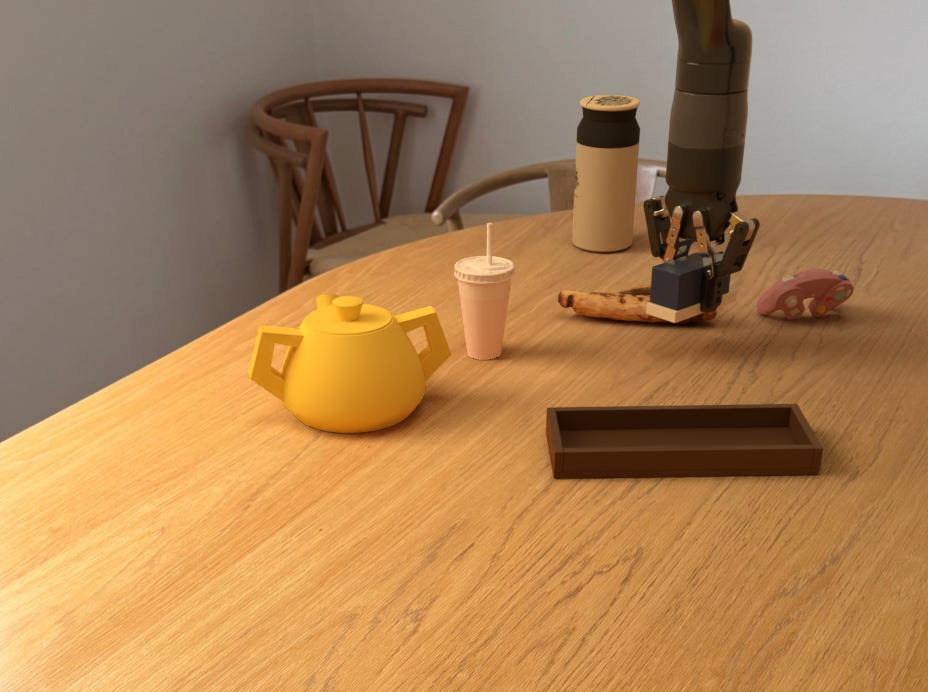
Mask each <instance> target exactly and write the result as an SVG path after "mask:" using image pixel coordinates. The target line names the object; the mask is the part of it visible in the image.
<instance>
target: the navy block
mask: <svg viewBox="0 0 928 692" xmlns="http://www.w3.org/2000/svg"><path fill="white" fill-rule="evenodd" d="M714 259H715V255H714ZM715 265H716V263H715ZM731 276H732V274H730V275H727V276H725V278H724V285H723V292H722V293H723V294H722V302H721V304H720V306H718V308H720V307H723V306H726V305H728V304H729V305H730V304H732V303H734V302H736V301H737V296H738V290H737V289H735V288H731V287H730V285H731ZM704 277H705V275H704V269H703V260H702V257H701V256H700V255H699V253H698V251H696V252H694V253H691V254H690V253H689V254H688V255H687V256H684V257H681V258H678V259H675V260H672V261H668V262H665V263H664V262H662V263H659V264H657V265H653V266H651V278H650V279H651V280H650V285H651V292H650V302H648V303H647V311H646V314H649V315H652V316H655V317H658V318H661V319H664V320H667V321H670V322H669V323H672V322H673V324H678V323H677V322H679V321H682V320H685V319H688V318H690V317H693V316H696V315H699V314H701V313H704V312H701V311H700V301H701V290H702V279H703V278H704Z"/></svg>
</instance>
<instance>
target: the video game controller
mask: <svg viewBox="0 0 928 692" xmlns="http://www.w3.org/2000/svg"><path fill="white" fill-rule="evenodd" d="M854 291H855V287H854V285H853V283H852V281H851V280H850V278H849V277H848V276H847V275H845V274H843V272H842V270H841V269H835V270H834V271H829V270H827V269H822V268H808V269H805V270H803V271H800V272H798V273H795V274H792V273H789V274H785V275H784V276H783V277H782V278H780V279H779V278H778V280H776V281H775V282H774V283H773V284H772V285H771V286H770V287H769V288H768V289H767V290H765V291H763V292H762V293H761V294H760V295H759V297H758V299H757V302H756V310H757V312H758V313H759V315H762V316H769V315H771V314H772V313H775V312H777V311H782V312H783V314H784V316H785V318H786V319H787V320H790V321H792V320H795V319H797V318H799V317H801V316H802V315H803V314H804V313H805V311H806V307H805V305H804V300H808V299H811V300H810V301H809V303H808V305H807V308H808V310H809V313H810V314H811V316H812V317H814V318H820V317H822V316H824V315H826V314H827V313H828V312H829V311H831V309H834V308H837V307H839V306H840V305H842V304H844V303H845V302H846V301H848V300H849V299H850V298H851V297H852V295H853V294H854Z"/></svg>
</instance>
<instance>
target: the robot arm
mask: <svg viewBox="0 0 928 692" xmlns="http://www.w3.org/2000/svg"><path fill="white" fill-rule="evenodd" d="M671 5H672V12H673V19H674V25H675V30H676V35H677V40H678V41H677V42H678V47H677V57H676V58H677V59H676V67H675V82H674V92H673V98H672V103H671V108H670V115H669V128H668V129H669V130H668V139H667V140H668V142H667V152H666V153H667V155H666V168H665V183H666V185H667V186H668V189H667V191H666V193H665V195H658V196H654V197H651V198H647V199H645V200H644V201H643V204H642V205H643V211H644V217H645V223H646V229H647V236H648V241H649V249H650V252H651V255H652V257H654V258H660V259H661V260H662V263H665V262H668V261H672V260H675V259H678V258H681V257H684V256H687V255H689V254H690V250H691V247H692V245H693V244H694V243H696V245H697V252H698V253H699V255H700V256H701V257H702V260H703V269H704V275H705V277H704V278H703V279H702V290H701V301H700V311H701V312H704V313H709V312H712V311H715V310H716V311H717V309H718V308H719V307H718V306H720V304H721V302H722V294H723V293H722V292H723V285H724V278H725V276H727V275H730V274H731V275H733V274H736V273H739V272H741V271H742V270H743V268H744V266H745V263H746V260H747V259H748V255H749V253H750V251H751V248H752V246H753V243H754V241H755V239H756V236H757V233H758V231H759V229H760V226H761V223H760V220H759V219H758V218H757V217H753V218H747V217H746V216H745V215H743V214H742V213H740V212H739V205H738V202H737V196H736V195H737V191H738V189H739V187H740V185H741V182H742V174H743V164H744V157H745V156H744V155H745V146H746V136H747V126H748V117H749V95H748V94H749V84H750V75H751V74H750V73H751V64H752V55H753V31H752V29H751V27H750V26H749V25H748V24H747V23H746V22H744V21H742V20H739V19H736V18H733V14H732V7H731V1H730V0H671ZM729 227H730V229H729V230H730V231H729V230H728V228H729ZM729 237H730V238H729ZM712 242H714V244H711V243H712ZM714 255H715V259H714ZM715 263H716V265H715Z"/></svg>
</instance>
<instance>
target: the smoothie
mask: <svg viewBox="0 0 928 692" xmlns="http://www.w3.org/2000/svg"><path fill="white" fill-rule="evenodd" d="M515 268H516V265H515V263H514V262H513V261H512V260H510V259H508V258H505V257H501V256H495V255H493V222H487V223H486V255H478V256H477V255H475V256H470V257H469V256H468V257H464V258H462V259H460V260H458V261H456V262H455V264H454V272H453V276H454V278H456V279H457V284H458V293H459V300H460V308H461V315H462V323H463V324H462V325H463V333H464V339H465V348H466V355H467V356H468V357H469V358H470V359H473V358H474V360H478V361H489V360H490V359H491V360H495V359H497V358H496V357H498V358H500V356H501V355H502V351H503V342H504V336H505V329H506V323H507V314H508V308H509V301H510V293H511V286H512V280H513V278H514V277H515V275H516V272H515V270H516V269H515ZM494 358H495V359H494Z"/></svg>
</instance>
